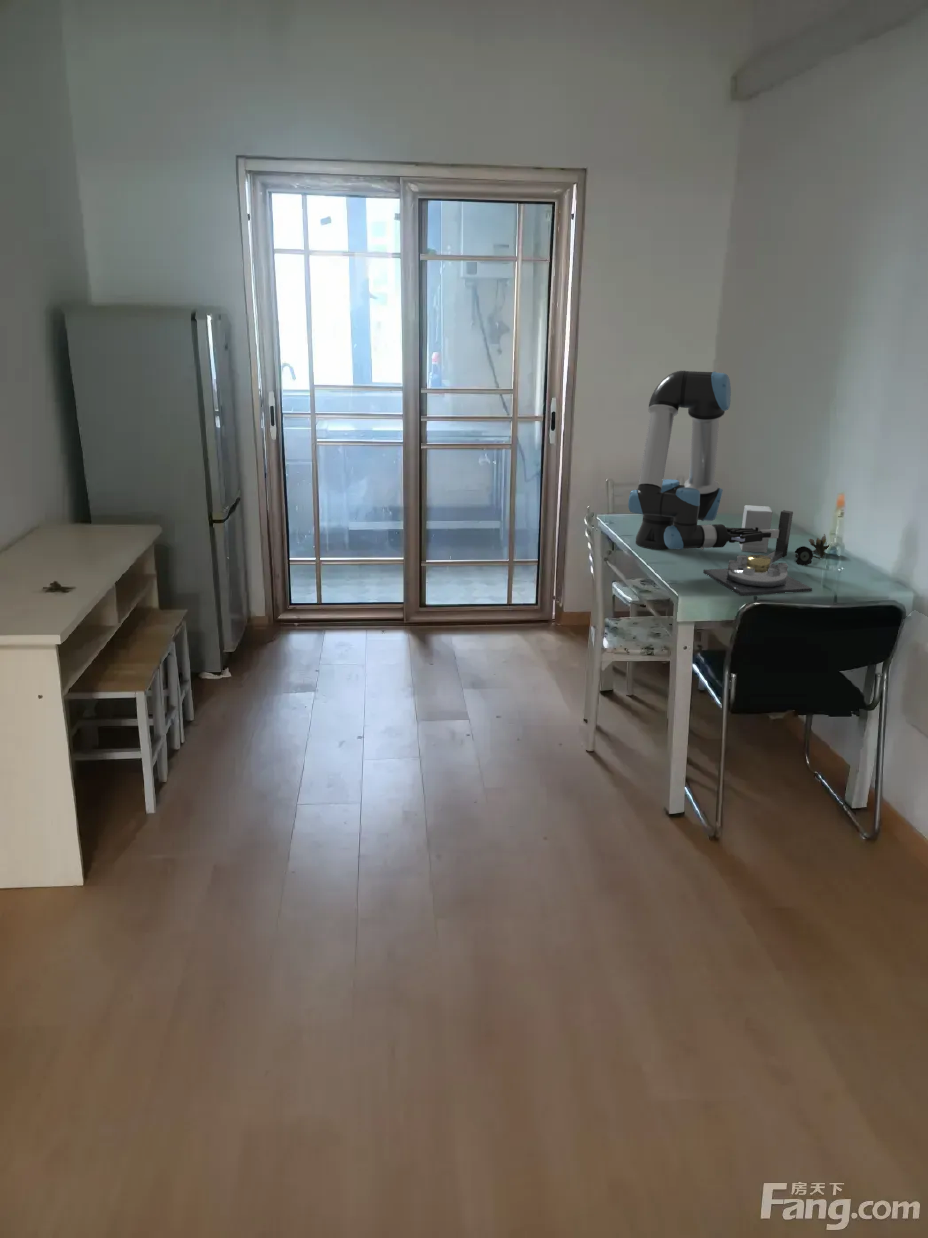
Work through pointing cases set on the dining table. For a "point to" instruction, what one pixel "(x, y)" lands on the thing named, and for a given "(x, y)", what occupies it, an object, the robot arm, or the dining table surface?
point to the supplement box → (753, 519)
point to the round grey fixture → (775, 572)
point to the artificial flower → (810, 551)
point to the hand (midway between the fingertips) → (777, 533)
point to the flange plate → (742, 589)
